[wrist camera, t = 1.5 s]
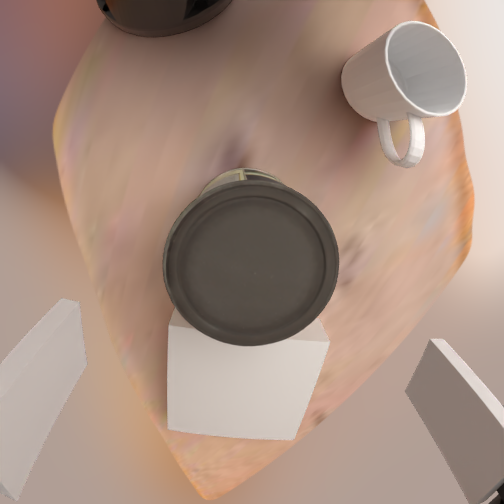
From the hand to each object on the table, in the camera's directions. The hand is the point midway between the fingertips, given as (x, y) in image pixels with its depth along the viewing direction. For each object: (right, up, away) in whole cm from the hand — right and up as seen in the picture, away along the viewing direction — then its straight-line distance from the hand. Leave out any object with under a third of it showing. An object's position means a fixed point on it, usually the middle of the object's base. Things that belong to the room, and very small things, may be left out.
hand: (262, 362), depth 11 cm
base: (-2, -10, +27) cm, 29 cm away
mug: (+12, +19, +18) cm, 29 cm away
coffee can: (-1, +7, +21) cm, 22 cm away
